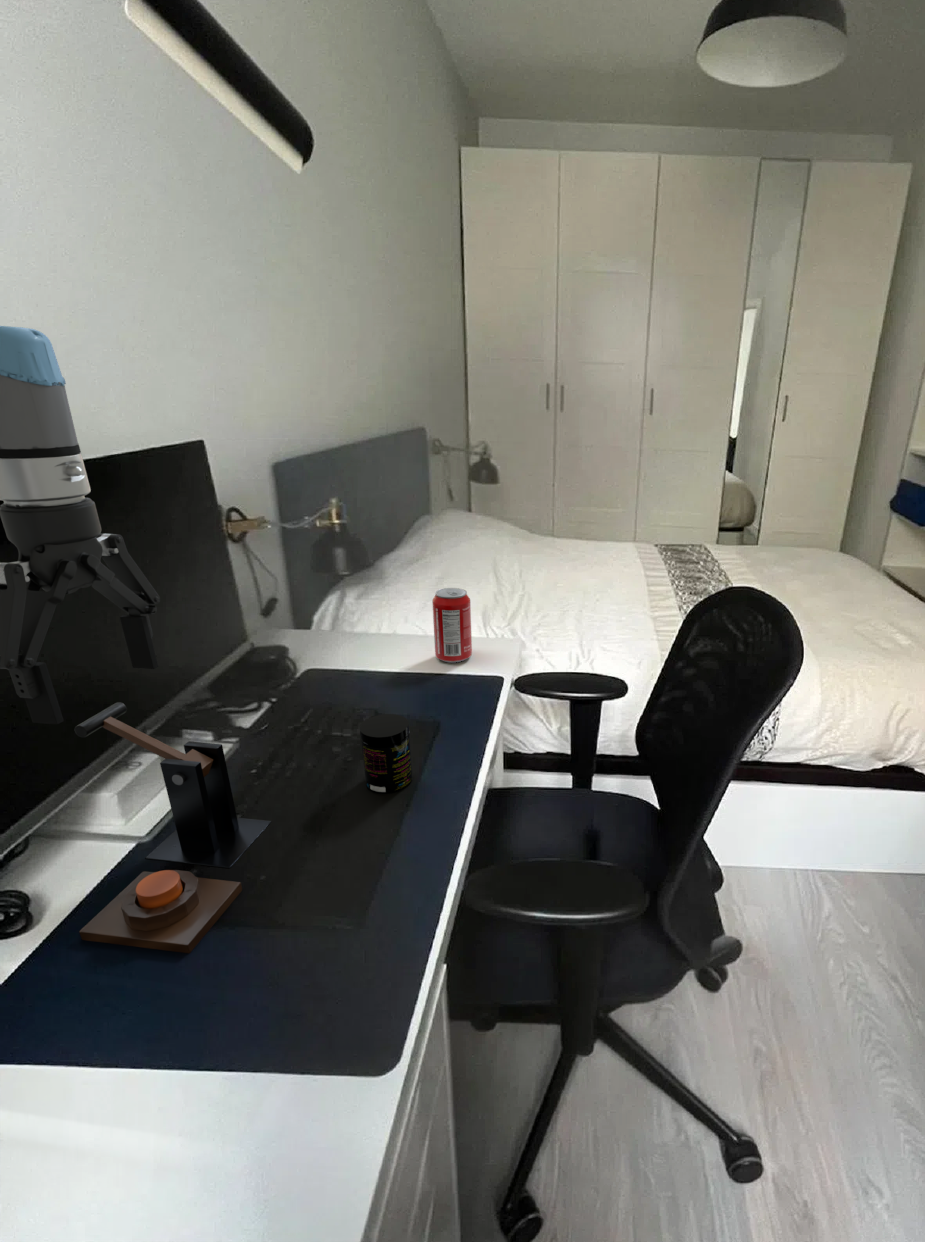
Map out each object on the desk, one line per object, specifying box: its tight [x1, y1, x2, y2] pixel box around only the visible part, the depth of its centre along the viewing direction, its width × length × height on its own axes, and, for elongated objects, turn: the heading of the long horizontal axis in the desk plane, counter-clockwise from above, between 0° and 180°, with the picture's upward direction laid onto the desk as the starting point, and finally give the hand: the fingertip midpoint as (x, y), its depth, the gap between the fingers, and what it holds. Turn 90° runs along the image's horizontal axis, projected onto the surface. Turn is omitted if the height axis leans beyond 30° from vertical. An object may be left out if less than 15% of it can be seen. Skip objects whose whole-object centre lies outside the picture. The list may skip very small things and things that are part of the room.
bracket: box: [144, 740, 272, 869], centre depth 80 cm, size 11×9×14 cm
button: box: [136, 869, 183, 909], centre depth 69 cm, size 4×4×2 cm
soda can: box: [431, 587, 473, 664], centre depth 137 cm, size 8×8×15 cm
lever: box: [74, 701, 213, 777], centre depth 77 cm, size 14×6×2 cm, turn 83°
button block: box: [78, 869, 243, 954], centre depth 70 cm, size 12×9×4 cm
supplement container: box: [359, 713, 414, 795], centre depth 94 cm, size 7×7×10 cm
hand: (101, 692), depth 72 cm, fingers open, 13 cm apart
